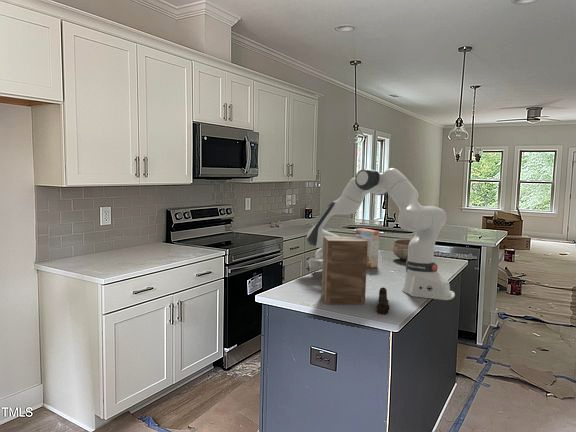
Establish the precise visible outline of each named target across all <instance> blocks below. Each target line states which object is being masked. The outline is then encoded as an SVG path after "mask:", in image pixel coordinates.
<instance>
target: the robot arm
mask: <svg viewBox="0 0 576 432" xmlns="http://www.w3.org/2000/svg"><path fill="white" fill-rule="evenodd" d="M368 194H372V195H375V196H385V195H389V196H390V198H391V199H392V201H393V202H394V203H395V204H396V206H397V208H398V211H399V214H398V217H397V222H398V226H400V228H401V229H402V230H404V231H409V232H413V233H414V232H415V234H414V236H413V238H411V239H412V240H411V241H410V242H409V245H408V260H407V261H405V262H406V263H405V272H406V275H405V280H404V283H403V287H402V290H401V291H402V292H404V293H406V294H407V295H409V296H411V297H416V298H422V299H423V298H425V299H433V300H443V301H449V300H452V299H454V298H455V296H456V294H455V292H454V291H453V290H451V287H450V282H449V280H448V279H447V278H445V277H444V276H443V275H442V274H441V273H440V272H439V271H438V267H439V266H438V265H439V264H438V263H435V262H434V253H435V246H436V241H437V239H438V236H439V233H440V231H441V229H442V228H443V227H444V226H445V225H446V224H447V221H448V220H447V217H448V216H447V213H446V211H445V210H444V209H443V208H441V207H438V206H435V205H425V206H424V205H422V204H421V203H419V200H418V199H419V192H418V190H417V189H416V188H415V187H414V185H413V184H412V183H411V181H410V180H409V179H408V178H407V177H406V176H405V174H404V173H402V172H401V171H400V170H398V169H397V168H393V167H391V168H388V169H386V170H385V171H384V172H380V171H378V170H375V169H373V168H372V169H371V168H362V169H359V171H358V172H357V173H356V175H355V176H354V177H352V178H351V179H350V180H349V181H348V182H347V184H346V186H345V187H344V189H343V190H342V193H341V195H340V196H339V198H337V199H336V200H333V201H331V202H330V203H329V204H328V205H327V206H326V208H325V209H324V210H323V212H322V213H321V215H320V216H319V217H318V218H317V220H316V221H315V223H314V224H313V226H311V228H310V229H309V230H308V231H307V235H306V237H305V238H306V241H307V243H308V245H310V246H313V247H317V248H318V249H317V250H316V251H315V253H314V257H310V258H309V259H307V260H306V263H307V264H308V268H315V269H316V268H319V269H320V268H321V269H322V263H323V236H339V235H338V234H335V233H333V232H330V231H328V230H325V229H324V226H325V225H326V223H327V222H328V221H329V219H330V218H331V217H332V216H333V217H334V215H353V214H354V213H356V212H357V211H358V210H359V209H360V208H361V205H362V203H363V201H364V199H365V197H366V195H368Z"/></svg>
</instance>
